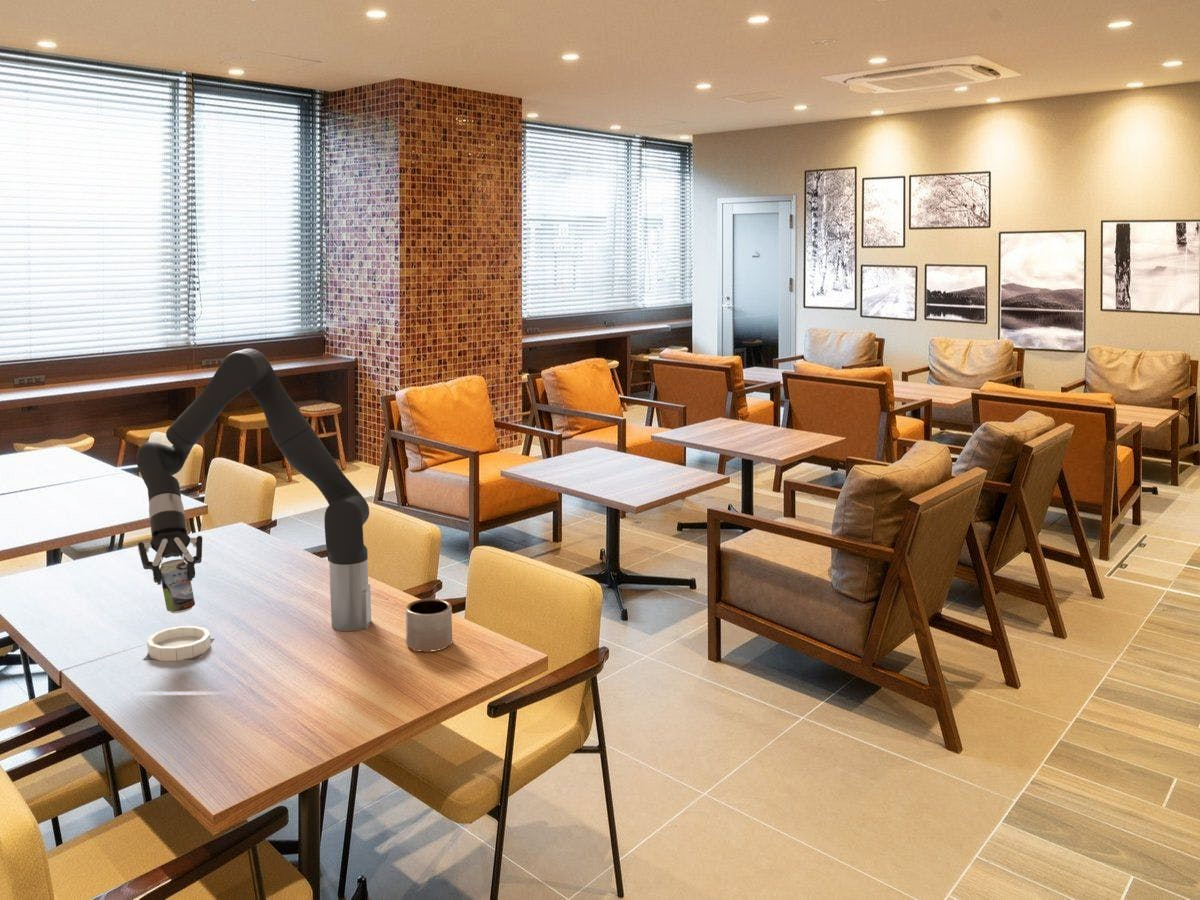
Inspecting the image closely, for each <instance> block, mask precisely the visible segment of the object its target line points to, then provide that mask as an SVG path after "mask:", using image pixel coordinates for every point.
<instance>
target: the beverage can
mask: <svg viewBox="0 0 1200 900" xmlns="http://www.w3.org/2000/svg"><path fill="white" fill-rule="evenodd" d="M159 568H160V576H161V587H162V592H163V596H164V602H165V607H166V611H167V612H168V613H171V614H180V613H185V612H188V611H190V610H192V609H193V607H194V606H195V605H196V603H195V597H194V592H193V591H194V590H193V586H192V581H189V574H188V565H187V563H186V562H185V561H184V560H183V559H182V558H180V559H179V558H178V559H171V560H168V561H164V562H161V564H160V567H159Z"/></svg>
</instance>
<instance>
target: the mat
mask: <svg viewBox="0 0 1200 900" xmlns="http://www.w3.org/2000/svg"><path fill="white" fill-rule="evenodd" d="M210 640H211V644H212V643H213V641H214V640H215V638H210ZM202 655H203V653H202V654H200V655H198V656H195V657H193V658H188V659H183V660H182V661H197V660H199V658H200V657H201V656H202ZM142 661H158V660H157V659H154V658H151V657H150V655H149V653H148V654H147V655H146V656H145V657H144V658H143V659H142Z"/></svg>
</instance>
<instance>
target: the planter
mask: <svg viewBox="0 0 1200 900" xmlns="http://www.w3.org/2000/svg"><path fill="white" fill-rule="evenodd" d="M452 613H453V611H452V604H451V603H450V602H449V601H447V600H445V599H439V598H423V599H418V600H413V601H412V602H410V603H408V604H407V605H406V607H405V619H406V620H405V625H406V626H405V627H406V629H405V630H406V631H405V636H406V639H405V643H406V646H407V647H408V648H409V647H410V649H411V648H412V649H411V650H413V649H415V650H421V651H431V650H438V649H442V648H444V647H447V646H448V645H449V644H450V645H452V643H453V617H452V616H453V614H452ZM451 642H452V643H451ZM450 645H449V646H450ZM449 646H448V647H449ZM448 647H447V648H448ZM415 650H414V651H415Z"/></svg>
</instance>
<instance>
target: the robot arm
mask: <svg viewBox="0 0 1200 900" xmlns="http://www.w3.org/2000/svg"><path fill="white" fill-rule="evenodd" d="M215 371H216V372H215V373H214V375H213V376H212V378H211V379H210V380H209V382H208V383H207V385H206V386H205V387H204V389H203V390H202V392H201V393H199V394H198V396H197V397H196V398H195V399H194V400H193V402H192V403H190V405H188V407H186V408H185V410H184V411H183V412H181V414H180V415H179V416H178V417H177V418H176V419H175V420H174V422H172V424H171V425H170V426H169V427H168V428H167V430H166V432H165V437H166V439H167V440H168V442H169V443H170V444H171V445H172V446H168V445H165V444H162V443H160V442H156V441H151V440H150V441H146V442H144V443H143V444H141V446H139V448H138V450H137V453H136V458H135V459H136V460H135V461H136V465H137V469H138V471H139V473H140V476H141V477H142V480H143V482H144V484H145V486H146V488H147V495H148V496H147V497H148V504H149V505H148V513H149V514H148V515H149V516H148V518H149V524H150V531H151V532H150V533H151V534H150V535H151V540H150V541H149V542H143V541H140V542H138V544H137V550H138V553H139V557H140V561H141V564H142V568H143V569H144V570H151V571H152V576H153V577H152V578H153V582H154V583H157V585H158V586H159V585H161V586H162V582H161V576H160V568H161V564H162V563H163V560H164V559H169V558H171V557H174V558H178V557H180V559H183V560H184V562H185V563H186V564H187V565H188V574H189V581H191V582H192V581H193V579H194V578H195V577H196V569H195V565H196V564H201V563H202V557H203V536H201V535H197V536H196V537H190V536H189V534H188V530H187V524H186V516H185V515H186V513H185V508H184V503H183V501H182V494H181V487H180V486H181V485H180V483H179V480H178V479H177V478H176V477H175V476H174V475H176V474H177V473H179V472H180V471H181V470H182V468H183V467H184V465H185V463H186V461H187V459H188V457H189V455H190V454H191V452H192V449H193V448H194V447H195V445H197V443H198V442H199V441H200V440H201V438H203V436H204V435H205V434H206V433H207V432H208V431H209V430H210V429H211V427H212V426H213V425H214V423H215V422H216V420H217V418H218V416H219V415H220V413H221V412H222V411H223V409H225V407H226V406H227V405H228V404H229V403H230V402H231V401H233V399H235V398H236V397H238V396H239V395H240V394H242V393H243V392H244V391H246V390H248V392H249V393H250V394H251V395H252V397H253V398H254V400H255V401H256V402H257V403H258V405H259V406H260V408H261V410H262V412H263V414H264V417H265V420H266V423H267V426H268V430H269V433H270V435H271V437H272V440H273V441H274V444H275V445H276V447H277V448H278V449H279V451H280V452H281V454H282V455H283V457H284V458H285V459H286V461H287V462H288V463H289V464H290V465H291V466H292V467H293V468H294V469H295V470H297V472H298V473H300V474H301V475H302V476H303V477H305V478H306V479H308V480H309V481H310V482H311V483H313V484H314V485H315V486H316V488H317V489H318V490H319V491H320V493H321V494H322V496H324V499H325V500H326V502H327V504H328V505H327V507H326V509H325V512H324V518H323V519H324V523H323V524H324V534H325V535H324V536H325V548H326V551H327V553H328V561H329V563H328V564H329V565H328V567H329V587H330V588H329V589H330V591H329V592H330V593H329V594H330V613H331V615H330V617H331V619H330V620H331V628H333V629H334V630H336V631H342V632H353V631H359V630H367V629H368V628H369V625H370V623H371V622H372V602H371V597H372V596H371V595H372V594H371V584H369V568H368V567H369V564H368V563H369V561H368V559H369V557H368V556H369V555H368V548H367V546H366V545H365V544H364V543H365V542H364V529H363V528H364V525H365V523H366V522H367V521H368V519H369V516H370V508H369V504H368V501H367V500H366V499H365V497H364V496H363V495H362V493H361V492H360V491H359V490H358V489H357V488H356V487H355V486H354V484H353V483H352V482H351V481H350V479H349V478H348V477H346V475H345V474H344V473H343V471H342V470H341V469H340V467H339V466H338V464H337V462H336V461H335V460H334V458H333V456H332V455H331V453H330V452H329V450H328V449H327V447H326V446H325V444H324V443H323V442H322V440H321V439H320V437H319V436H318V434H317V433H316V431H315V430H314V428H313V427H312V426H311V424H310V423H309V421H308V420H307V419H306V418H305V416H304V415H303V413H302V412H301V411H300V409H299V408H298V406H297V405H296V403H295V402H294V401H293V399H292V398H291V396H289V394H288V393H287V391H286V389H285V388H284V385H283V384H282V383H281V381H280V379H279V378H278V375H277V374H276V372H275V370H274V368H273V367H272V365H271V363H270V361H269V360H268V358H267V357H266V356H265V355H264V354H263V353H262V352H260V351H259V350H257V349H255V348H254V349H253V348H243V349H240V350H237V351H233V352H231V353H229V354H228V355H226V357H224V359H223V361H222V362H221V364H220V365H219V366H218V368H217V370H215ZM191 544H192V546H193V548H195V552H196V553H195V555H194V556H192V554H191V553H190V551H189V550H188V547H189V545H191ZM150 548H151V549H152V550H153V551H155V552H156V554H155V557H154V559H153V560H152V561H150V560H149V556H148V553H149V552H150Z"/></svg>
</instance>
